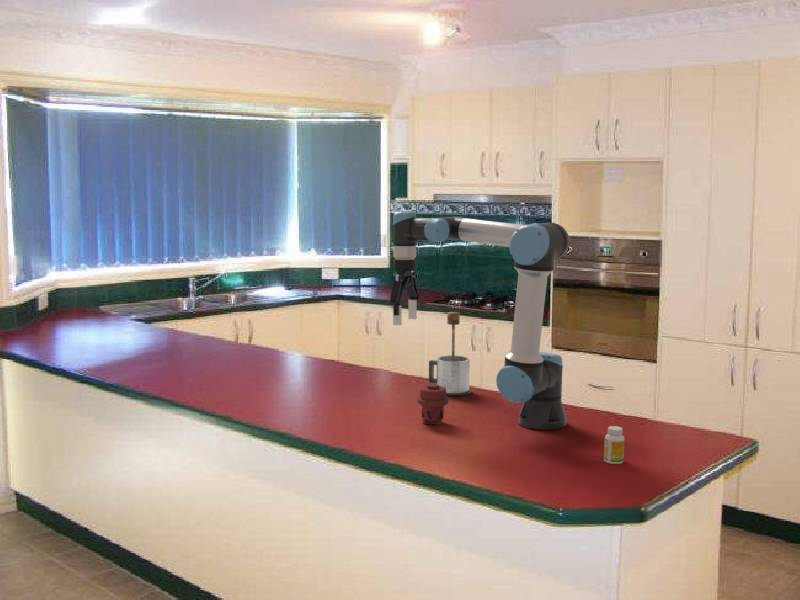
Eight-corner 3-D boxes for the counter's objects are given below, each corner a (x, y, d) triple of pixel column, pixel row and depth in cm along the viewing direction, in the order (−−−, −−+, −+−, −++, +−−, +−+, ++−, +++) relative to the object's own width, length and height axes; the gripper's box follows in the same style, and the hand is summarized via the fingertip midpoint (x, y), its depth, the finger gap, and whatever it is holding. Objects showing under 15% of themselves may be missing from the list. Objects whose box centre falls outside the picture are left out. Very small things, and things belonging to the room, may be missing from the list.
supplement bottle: (600, 461, 248) (601, 428, 247) (610, 457, 252) (611, 424, 251) (617, 465, 245) (618, 431, 243) (627, 461, 248) (628, 427, 247)
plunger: (467, 368, 328) (467, 312, 325) (459, 372, 320) (460, 315, 317) (446, 366, 331) (447, 310, 328) (438, 370, 324) (439, 313, 321)
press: (475, 390, 330) (475, 356, 328) (463, 398, 318) (463, 363, 316) (436, 386, 336) (436, 353, 335) (422, 393, 325) (423, 359, 323)
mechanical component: (452, 425, 283) (422, 428, 281) (442, 417, 293) (413, 419, 290) (452, 387, 282) (422, 389, 279) (443, 380, 291) (413, 382, 289)
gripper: (408, 255, 308) (408, 316, 311) (379, 261, 285) (379, 327, 288) (428, 255, 305) (428, 317, 308) (401, 262, 282) (401, 328, 285)
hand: (405, 322), depth 298 cm, fingers open, 13 cm apart
